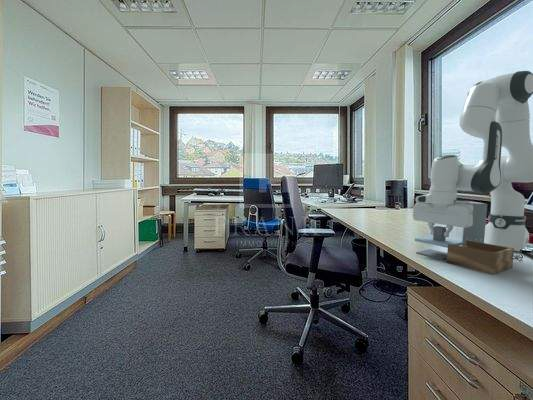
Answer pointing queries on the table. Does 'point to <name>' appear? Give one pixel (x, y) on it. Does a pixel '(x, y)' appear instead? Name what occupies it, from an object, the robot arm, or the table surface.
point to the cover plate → (438, 243)
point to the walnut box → (481, 256)
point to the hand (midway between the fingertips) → (439, 235)
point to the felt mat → (434, 254)
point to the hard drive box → (476, 229)
